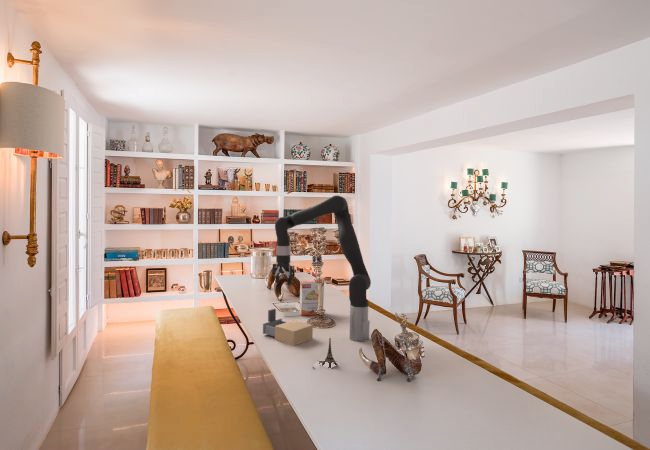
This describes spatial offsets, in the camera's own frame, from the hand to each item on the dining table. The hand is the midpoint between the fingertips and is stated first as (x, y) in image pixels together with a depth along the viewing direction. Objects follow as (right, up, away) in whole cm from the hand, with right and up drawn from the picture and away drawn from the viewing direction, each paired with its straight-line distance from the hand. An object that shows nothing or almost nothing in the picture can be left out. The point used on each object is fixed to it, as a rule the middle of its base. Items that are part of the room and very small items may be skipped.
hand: (283, 283), depth 230 cm
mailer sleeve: (+7, -26, -15) cm, 31 cm away
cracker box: (+14, -24, +33) cm, 43 cm away
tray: (-1, -25, -8) cm, 26 cm away
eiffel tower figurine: (+25, -29, -47) cm, 61 cm away
